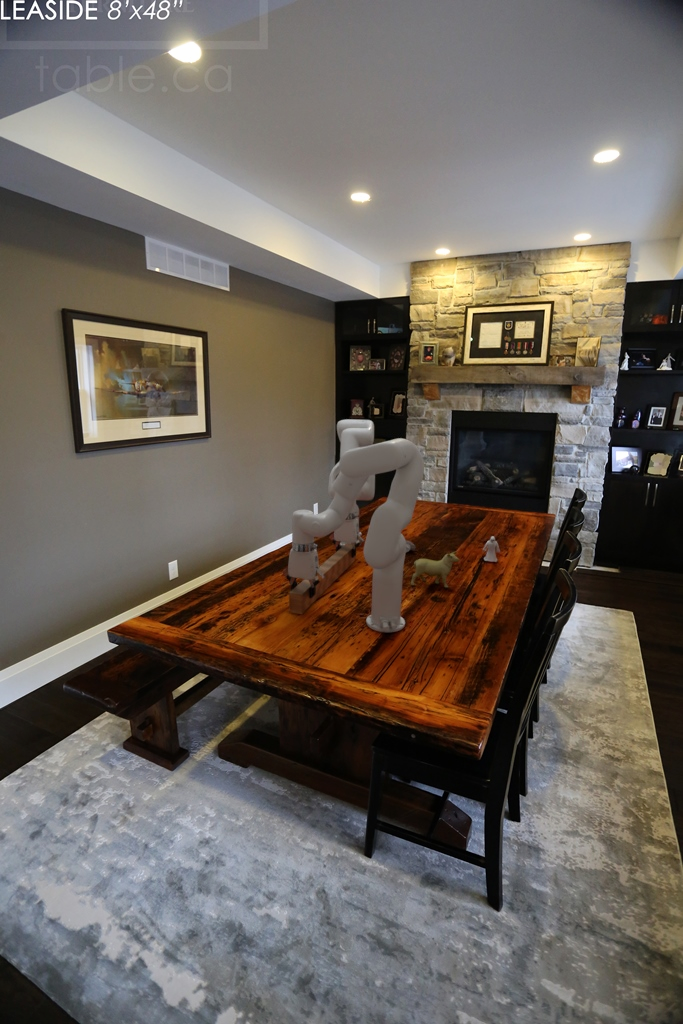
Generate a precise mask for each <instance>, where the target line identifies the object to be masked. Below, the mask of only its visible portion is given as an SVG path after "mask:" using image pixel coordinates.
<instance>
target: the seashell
mask: <svg viewBox="0 0 683 1024" xmlns="http://www.w3.org/2000/svg"><path fill="white" fill-rule="evenodd" d="M405 541H406V553H408V552H410V551H412V552H413V551H416V548H417V546H416V544H414V543H413V542H412V541H411V540H408V539H405Z"/></svg>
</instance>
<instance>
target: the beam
mask: <svg viewBox="0 0 683 1024" xmlns="http://www.w3.org/2000/svg"><path fill="white" fill-rule="evenodd" d="M352 548H353V547H352V544H349V543H346V544H345V545H344V546H343V547H342V546H341V548H340V549H339V550H338V551H337V552H336V551H335V552H334V553H333V554H332V555H331V556H330V557H329V558H328V559H326V560H325V561H324V562H323V563H322V564H320V565H319V571H320V572H321V573H322V575H323V576H324V577H325V578H324V579H323V580H322V581H321V582H320V583H318V584H317V585H316V594H315V595H314V597H312V598H309V588H310V587H311V585H310V582H309V580H307V579H302V581H301V582H299V584H297V586H296V587H295V588H294V589H293V590H292V591H291V590H290V591H289V592H288V602H289V603H288V607H289V608H288V610H289V611H288V612H289V613H291V614H296V615H302V614H304V613H305V612H306V611H307V609H309V608H310V607H311V606H312V605H313V604H314V602H316V600H317V599H319V598H320V597H321V595H322V594H324V593H325V591H326V590H327V589H329V587H330V586H332V584H334V583H335V582H336V580H338V579H339V578H340V577H341V576H342V575H343V574H344V573H345V572H346V571H347V569H348V568H350V566H351V565H353V563H354V562H356V560H357V555H356V556H354V557H353V558H352V557H351V550H352ZM315 579H316V580H318V579H319V577H318V576H315Z"/></svg>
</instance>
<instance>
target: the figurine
mask: <svg viewBox="0 0 683 1024" xmlns="http://www.w3.org/2000/svg"><path fill="white" fill-rule="evenodd" d="M482 551H483V552H486V554H485V556H484V557H483V560H484V561H485V562H495V563H498V558H497V554H496V553H498V554H499V553H501V550H500V547H499V543H498V541H497V540H496V538H495V536H493V535H492V536H490V539H489V540H487V542H486V543H485V544H484V546H483V548H482Z"/></svg>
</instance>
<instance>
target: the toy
mask: <svg viewBox="0 0 683 1024" xmlns="http://www.w3.org/2000/svg"><path fill="white" fill-rule="evenodd" d="M456 554H458V551H453V552H451V553H450V552H449V553H446V554H445V555H444V556H443V558H441V559H440V560H433V559H428V558H419V559H416V560H415V561H414V562H413V566H414V567H413V569H415V573H412V577H411V582H410V585H411V586H412V587H415V586H416V583H415V580H416V579H417V578H418V577H419V578H420V579H421V580H422V582H423V583H426V582H427V580H426V578H425V576H424V574H425V575H427V576H430V577H435V576H436V578H435V581H434V582H435V585H440V581H439V580H440V579H441V581H442V583H443V587H444V588H445V589H446V590H448V589H450V587H449V586H448V584H447V577H448V576H449V574H450V573H451V570H452V567H453V564H454V562H455V563H459V562H460V558H459V557H457V556H456Z"/></svg>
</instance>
